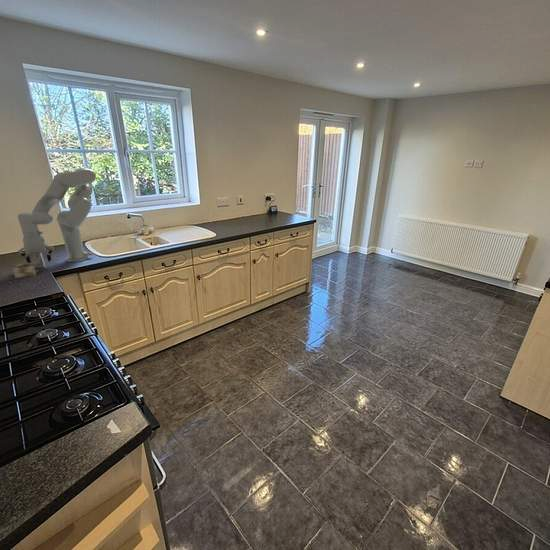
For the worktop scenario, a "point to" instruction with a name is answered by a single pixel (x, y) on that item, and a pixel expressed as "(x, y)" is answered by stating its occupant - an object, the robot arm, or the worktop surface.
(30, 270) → the socket block
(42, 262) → the grey upright block
